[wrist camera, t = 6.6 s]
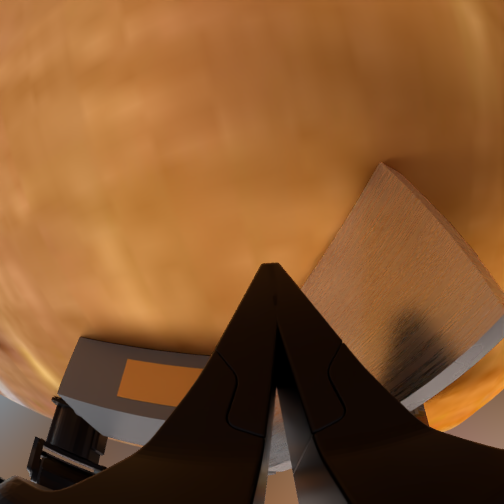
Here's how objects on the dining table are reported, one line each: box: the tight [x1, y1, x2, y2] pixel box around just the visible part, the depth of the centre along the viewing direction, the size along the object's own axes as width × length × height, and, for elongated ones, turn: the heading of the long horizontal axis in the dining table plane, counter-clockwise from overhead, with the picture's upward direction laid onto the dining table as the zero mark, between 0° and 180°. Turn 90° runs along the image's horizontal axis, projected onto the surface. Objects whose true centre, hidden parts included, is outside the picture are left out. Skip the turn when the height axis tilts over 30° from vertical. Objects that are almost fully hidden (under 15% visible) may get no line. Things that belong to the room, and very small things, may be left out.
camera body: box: [57, 337, 276, 475], centre depth 15 cm, size 14×9×7 cm, turn 86°
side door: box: [268, 162, 504, 471], centre depth 9 cm, size 11×2×7 cm, turn 159°
